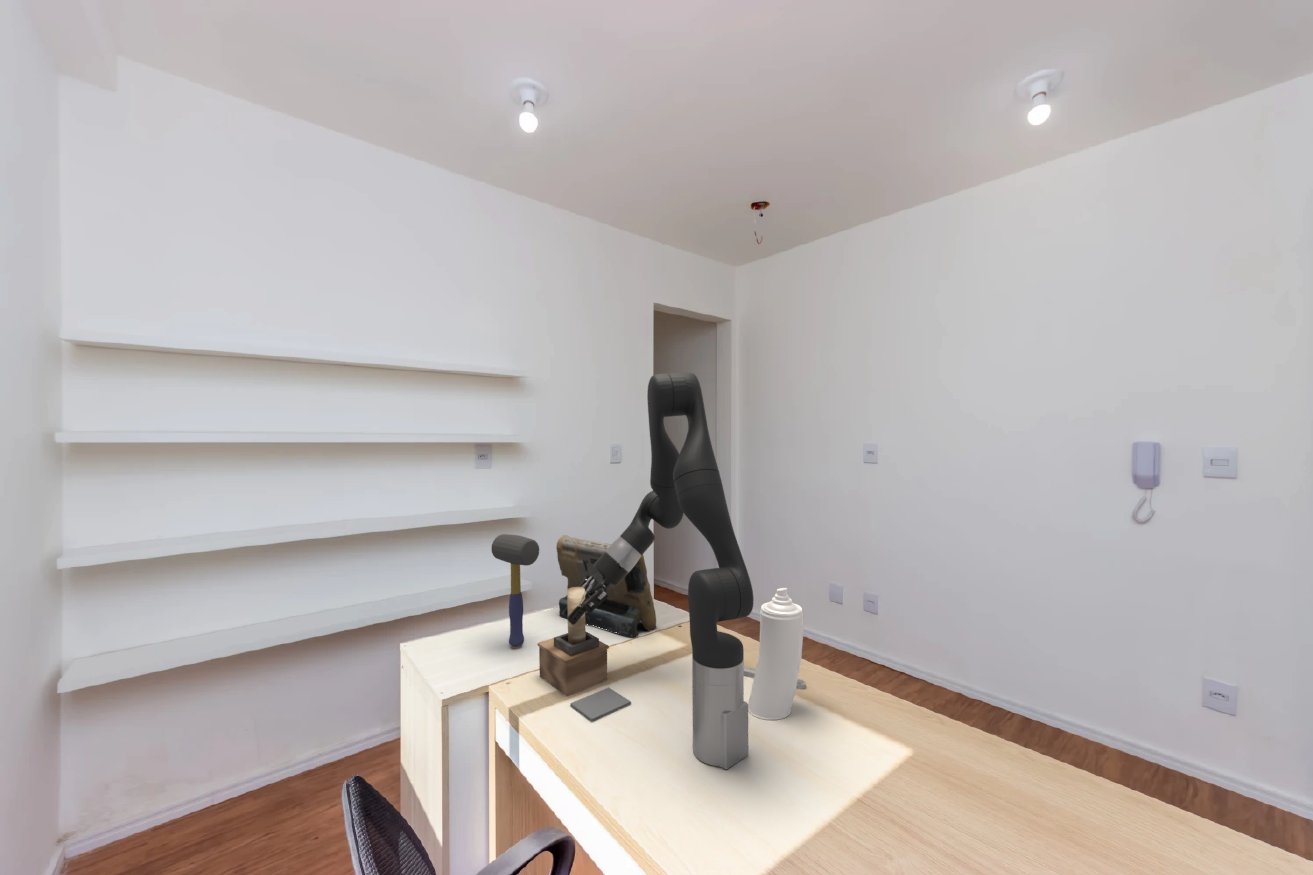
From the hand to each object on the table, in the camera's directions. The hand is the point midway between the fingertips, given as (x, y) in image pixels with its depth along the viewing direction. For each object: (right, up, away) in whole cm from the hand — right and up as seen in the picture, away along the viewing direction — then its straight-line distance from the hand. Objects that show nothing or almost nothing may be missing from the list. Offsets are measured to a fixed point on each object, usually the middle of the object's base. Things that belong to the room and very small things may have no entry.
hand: (568, 618), depth 121 cm
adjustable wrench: (+42, -15, +3) cm, 45 cm away
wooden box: (+1, -15, +2) cm, 15 cm away
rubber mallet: (-17, -15, +20) cm, 30 cm away
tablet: (+5, -14, +38) cm, 40 cm away
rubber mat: (+9, -15, -10) cm, 20 cm away
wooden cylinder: (+2, -6, +1) cm, 6 cm away
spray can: (+45, -15, -11) cm, 49 cm away
